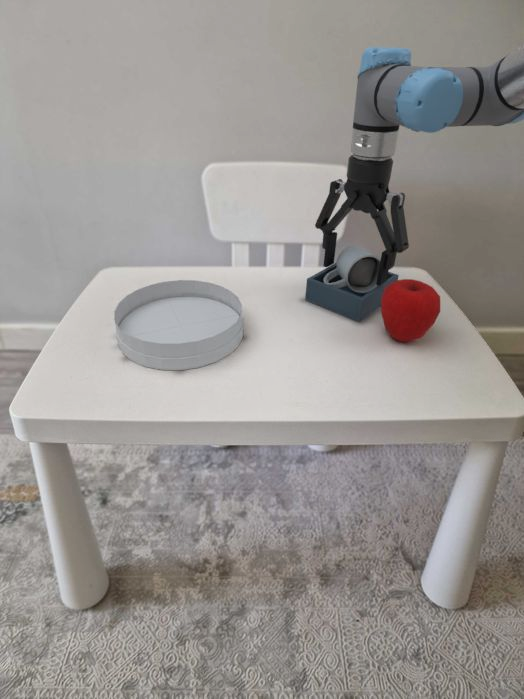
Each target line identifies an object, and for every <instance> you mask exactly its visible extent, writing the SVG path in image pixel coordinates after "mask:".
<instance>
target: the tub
mask: <svg viewBox="0 0 524 699" xmlns="http://www.w3.org/2000/svg"><path fill="white" fill-rule="evenodd" d="M336 263H337V261H336V262H334V263H333V264H332V265H330V266H328V267H325V268H323V269H322V270H319V271H318V272H317V273H315V274H313V275H311V276H309V277H308V278H306V284H305V285H306V286H305V298H304V300H305V301H306V302H309V303H311V304H313V305H315V306H318V307H321V308H323V309H326V310H328V311H330V312H333V313H336V314H338V315H340V316H343V317H344V318H348V319H350V320H353V321H355V322H357V323H361V322H362V321H363V320H364V319H366V318H367V317H368V316H370V315H371V314H372V313H374V312H376V310H379V308H381V299H382V295H383V293H384V291H385V289H386V287H387V286H388V285H390V284H392V283H394V282H396V281H398V280H399V276H400V275H399V274H397V273H394V272H390V271H388V276H387V281H386V282H385V283H383V284H382V285H380V286H379V285H378V286H377V287H376V288H374V289H373V290H371V291H370V292H367V293H356V292H354V291H352V290H351V289H350V288H349V287H348V286H345V287H343V288H340V289H338V288H336V287H333V286H330V285H328V284H325V283H324V281H323V280H324V277H325V276H326V275H327V274H328V273H329V272H331V271H333V270H335V269H336V268H337V267H336ZM340 280H342V278H341V277H340V275H338V276H336V277H334V278H332V279H331V280H330V281H329V283H334V282H337V281H340Z"/></svg>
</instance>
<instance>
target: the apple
mask: <svg viewBox="0 0 524 699" xmlns="http://www.w3.org/2000/svg"><path fill="white" fill-rule="evenodd" d="M380 308H381V311H380V312H381V317H382V321H383V325H384V329H385V330H386V332H387V333H388V334H389V335H390V336H391V337H392V338H393V339H394V340H396V341H398V342H402V343H407V342H412V341H415V340H419V339H422V337H424V336H425V334H426V333H427V332H428V331H429V330H430V329H431V328H432V327H433V325H434V324H435V323H436V320H437V319H438V316H439V315H440V313H441V296H440V294H439V293H438V292H437V290H435V288H434V287H433V286H431V285H429V284H428V283H426V282H423V281H420V280H417V279H411V278H410V279H409V278H405V279H398V281H396V282H394V283H392V284H390V285H388V286H387V287H386V289H385V291H384V293H383V295H382V299H381V306H380Z"/></svg>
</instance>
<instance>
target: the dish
mask: <svg viewBox="0 0 524 699" xmlns="http://www.w3.org/2000/svg"><path fill="white" fill-rule="evenodd" d="M113 316H114V324H115V336H116V340H117V346H118V348H119V349H120V351H121V353H122V354H123V355H124V356H125V357H126V358H128V359H129V360H130V361H131V362H133V363H135V364H138V365H140V366H143V367H145V368H150V369H155V370H161V371H184V370H191V369H192V370H193V369H199V368H202V367H206V366H208V365H211V364H214V363H215V364H216V363H217V362H219V361H221V360H222V359H225V358H226V357H228V356H230V355H231V354H232V353H233V352H234V351H236V349H237V348H238V347H239V346H240V344H241V342H242V340H243V336H244V318H243V304H242V302H241V300H240V298H239V297H238V296H237V295H236V294H235V293H234V292H233V291H232V290H230V289H228V288H226V287H224V286H223V285H219V284H215V283H212V282H208V281H202V280H193V279H192V280H191V279H190V280H189V279H188V280H187V279H179V280H168V281H162V282H157V283H153V284H150V285H147V286H144V287H141V288H138V289H137V290H135V291H132V292H131V293H129V294H128V295H126V296H125V297H123V299H121V301H119V302H118V303H117V306H116V308H115V309H114V315H113Z"/></svg>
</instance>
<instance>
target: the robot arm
mask: <svg viewBox="0 0 524 699" xmlns="http://www.w3.org/2000/svg"><path fill="white" fill-rule="evenodd" d="M356 79H357V84H356V92H355V102H354V111H353V119H352V120H353V121H352V128H351V137H350V138H351V139H350V146H349V153H350V154H352V155H350V156H349V157H348V160H347V168H346V181H343V180H342V178H338V179H335V180H333V181H331V182H330V183H329V191H328V195H327V197H326V199H325V202H324V204H323V205H322V209H321V210H320V213H319V215H318V217H317V218H316V219H317V220H316V221H315V224H314V226H315V228H316V229H318V230H320V231H322V244H321V247H322V249H324V256H323V267H324V268H327V267H329V266H331V265H333V264H335V257H336V247H337V239H338V232H336V229H337V227H338V226H339V225H340V224H341V223H342V221H344V219H345V218H346V217H347V215H348V214H350V212H351V211H352V210H353V211H357V212H359V211H361V212H362V213H364V214H370V218H371V219H373V221H374V223H375V225H376V228H377V231H378V232H379V235H380V238H381V241H382V243H383V246H384V248H385V249H384V251H382V252H381V256H380V260H381V261H380V266H379V272H378V277H377V283H376V285H379V286H380V285H382V284H383V283H385V282H386V281H387V276H388V272H390V270H391V269H393V268H394V267H395V263H396V259H397V255H398V254H401V253H403V252H405V251H406V250H408V249H409V248H410V243H409V238H408V237H409V236H408V230H407V223H406V216H405V210H404V206H405V200H406V194H405V193H404V192H399V193H395V192H390V188H389V184H390V181H391V178H392V172H393V165H394V160H393V158H392V157H393V156H395V154H396V149H397V142H398V135H399V130H400V126H402V127H404V128H406V129H409V130H411V131H412V132H416V133H419V132H422V133H426V134H428V133H429V134H433V133H434V134H435V133H438V132H441V131H442V130H444V129H445V128H452V127H453V128H454V127H479V126H481V127H482V126H484V127H485V126H489V127H490V126H491V127H500V126H505V125H511V124H516V123H520V122H521V121H523V120H524V43H523V44H522V45H520V46H519V47H518V48H516V49H515V50H513V51H512V52H510V53H508V54H506V55H505V56H504V57H502V58H500V59H499V60H497V61H496V62H494V63H493V64H491V65H488V66H418V65H412V51H411V50H410V49H409V48H407V47H390V46H369V47H367V48H365V49H364V51H362V54H361V59H360V65H359V70H358V74H357V78H356ZM342 193H344V194H345V196H346V199H345V201H343V203H342V204H341V206H340V208H339V209H338V210H337V212H336V213H334V215H333V216H332V214H333V212H334V210H335V208H336V206H337V205H338V204H337V203H338V202H339V200H340V198H341V196H342ZM386 201H388V206H389V207H390V218H391V222H390V219H389V217H388V215H387V212H388V211H387V208H386V205H385V202H386ZM331 216H332V217H331ZM391 224H392V225H391Z"/></svg>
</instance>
